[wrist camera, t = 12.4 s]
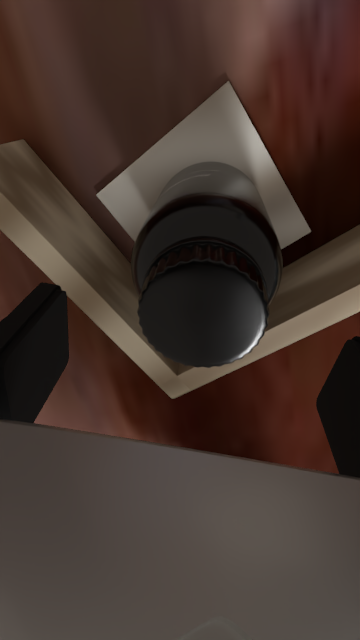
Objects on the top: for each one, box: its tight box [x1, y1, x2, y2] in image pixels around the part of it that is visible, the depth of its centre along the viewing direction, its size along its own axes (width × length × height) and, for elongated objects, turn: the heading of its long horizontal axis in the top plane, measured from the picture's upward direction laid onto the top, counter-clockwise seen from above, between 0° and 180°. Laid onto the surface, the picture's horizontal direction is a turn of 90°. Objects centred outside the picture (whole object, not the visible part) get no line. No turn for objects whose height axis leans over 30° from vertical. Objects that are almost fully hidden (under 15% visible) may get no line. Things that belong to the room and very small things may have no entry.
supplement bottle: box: [131, 162, 283, 368], centre depth 17 cm, size 7×7×12 cm
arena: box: [0, 81, 360, 399], centre depth 19 cm, size 18×18×6 cm
